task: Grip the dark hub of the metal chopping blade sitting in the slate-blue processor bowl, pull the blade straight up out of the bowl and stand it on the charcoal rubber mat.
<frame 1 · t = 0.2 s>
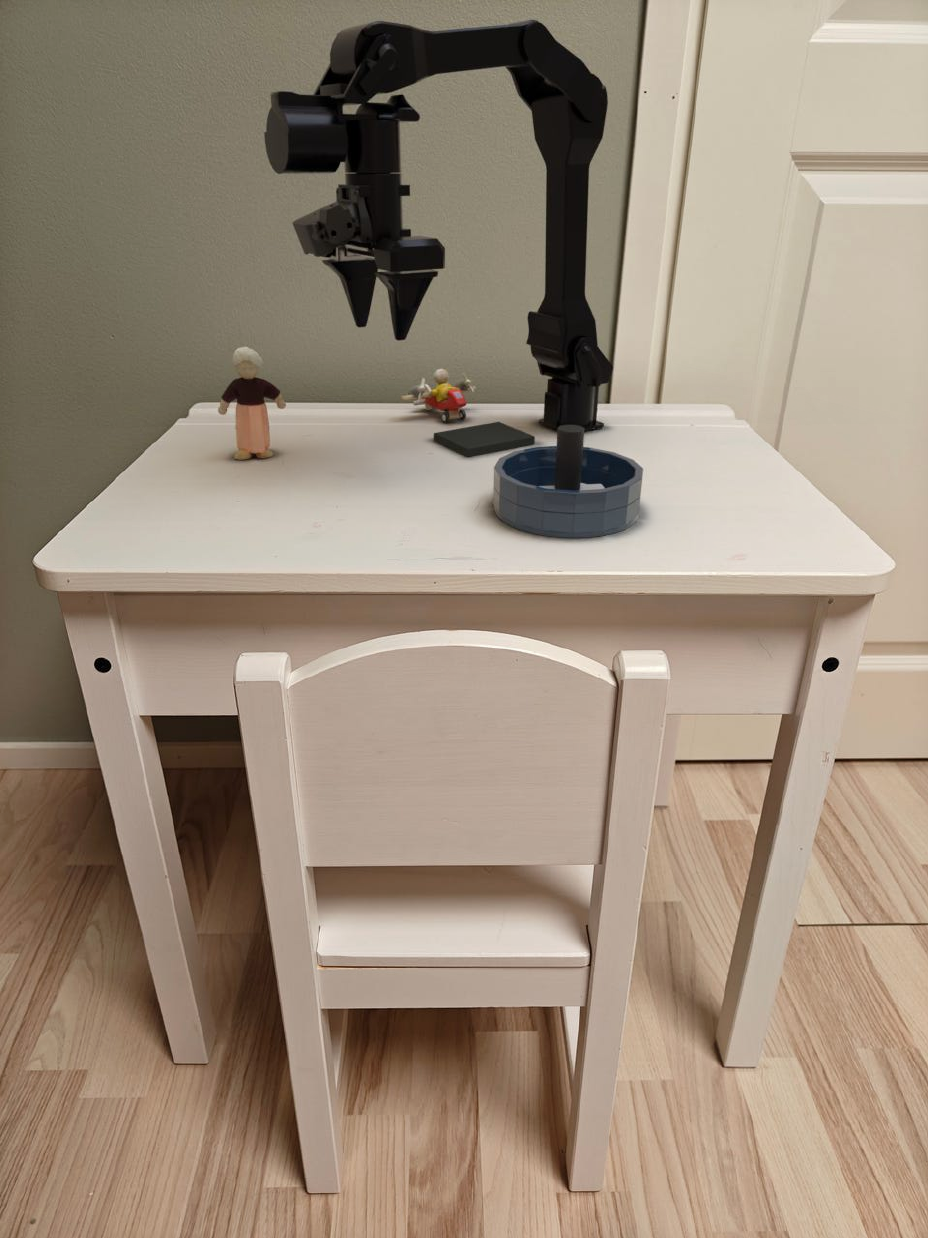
hand: (380, 333, 95), 15 cm above the table, tool pointing down, fingers open, 9 cm apart
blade: (566, 505, 88), resting on bowl
mat: (483, 442, 109), on the table
toy airplane: (439, 416, 120), on the table
grandmother figurine: (258, 456, 104), on the table
bowl: (565, 509, 88), on the table
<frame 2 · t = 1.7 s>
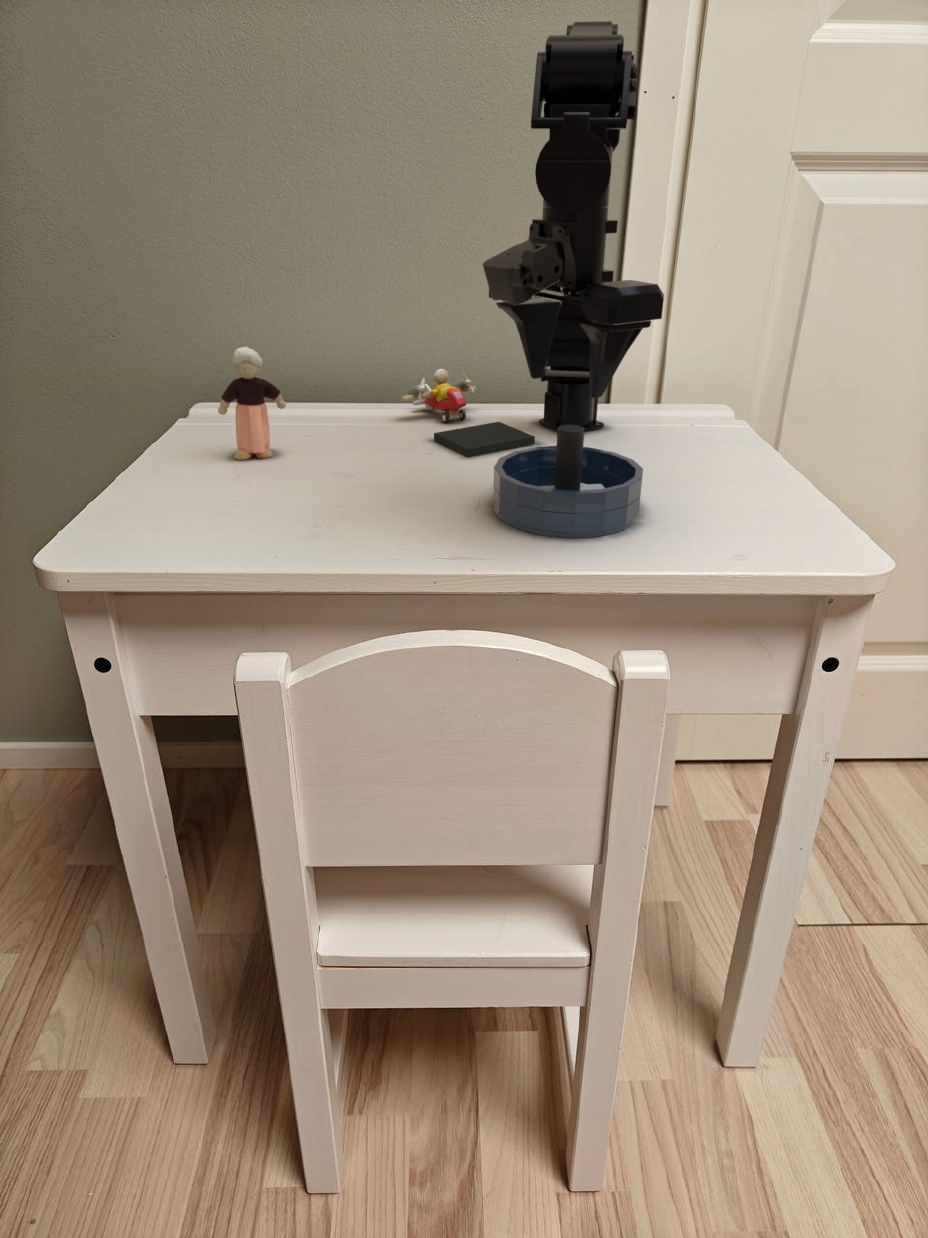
hand: (564, 387, 82), 12 cm above the table, tool pointing down, fingers open, 9 cm apart
nothing on the table moved.
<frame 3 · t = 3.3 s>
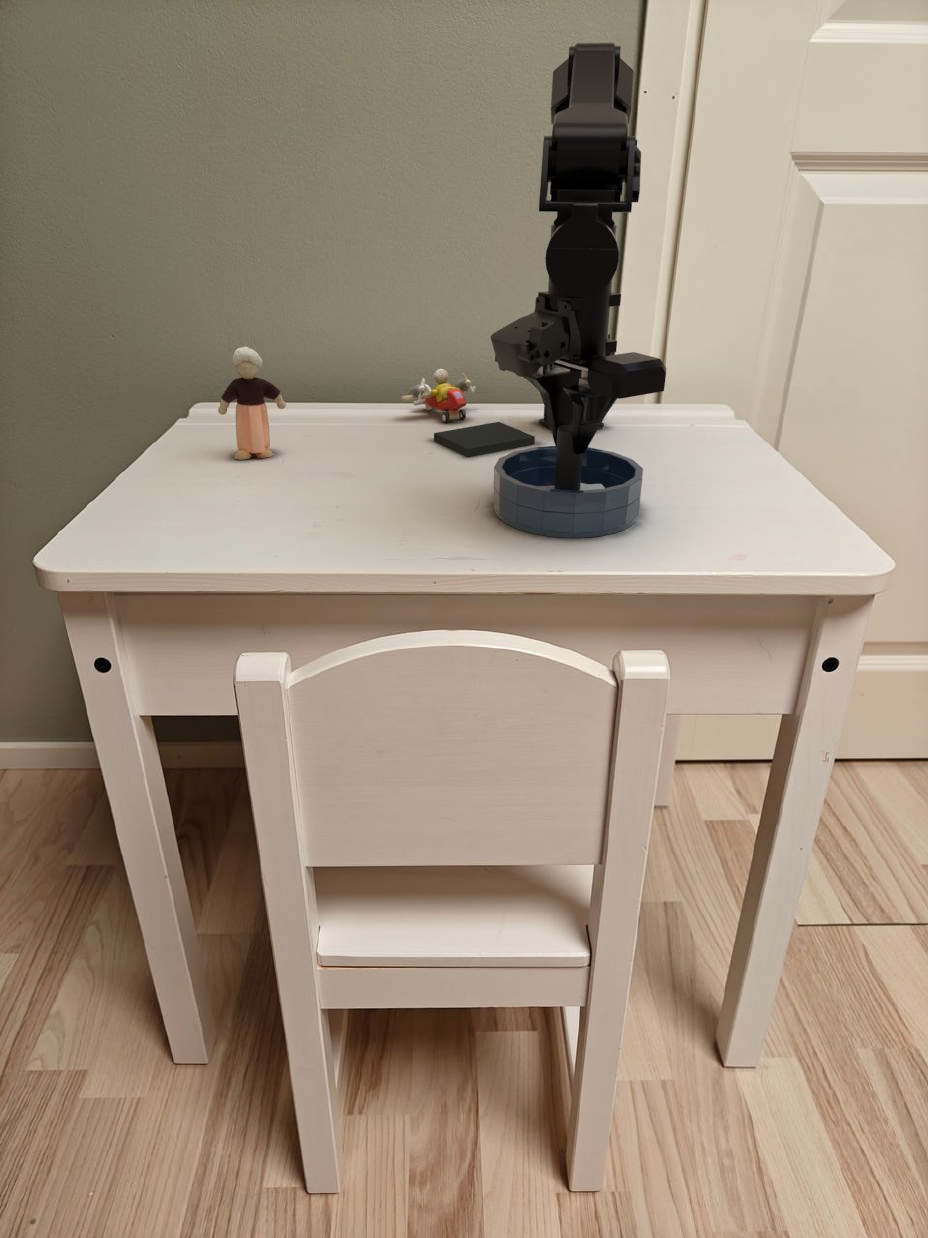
hand: (569, 449, 85), 6 cm above the table, tool pointing down, fingers closed on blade, 2 cm apart
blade: (566, 505, 88), point 1 cm above the table, touching bowl, gripper
everything else where it was.
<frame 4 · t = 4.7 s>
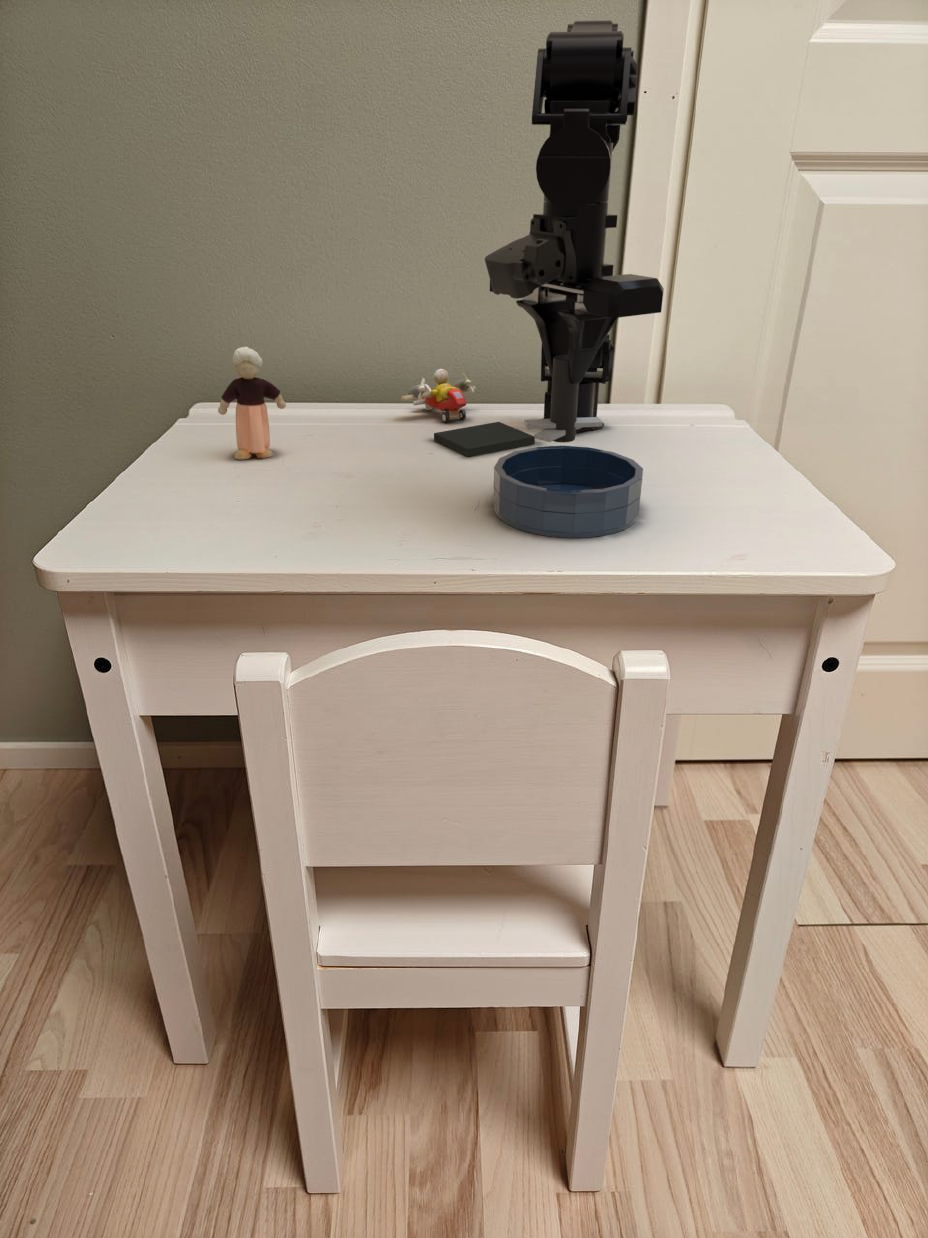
hand: (565, 380, 84), 13 cm above the table, tool pointing down, fingers closed on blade, 2 cm apart
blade: (562, 438, 86), point 7 cm above the table, touching gripper
everything else where it was.
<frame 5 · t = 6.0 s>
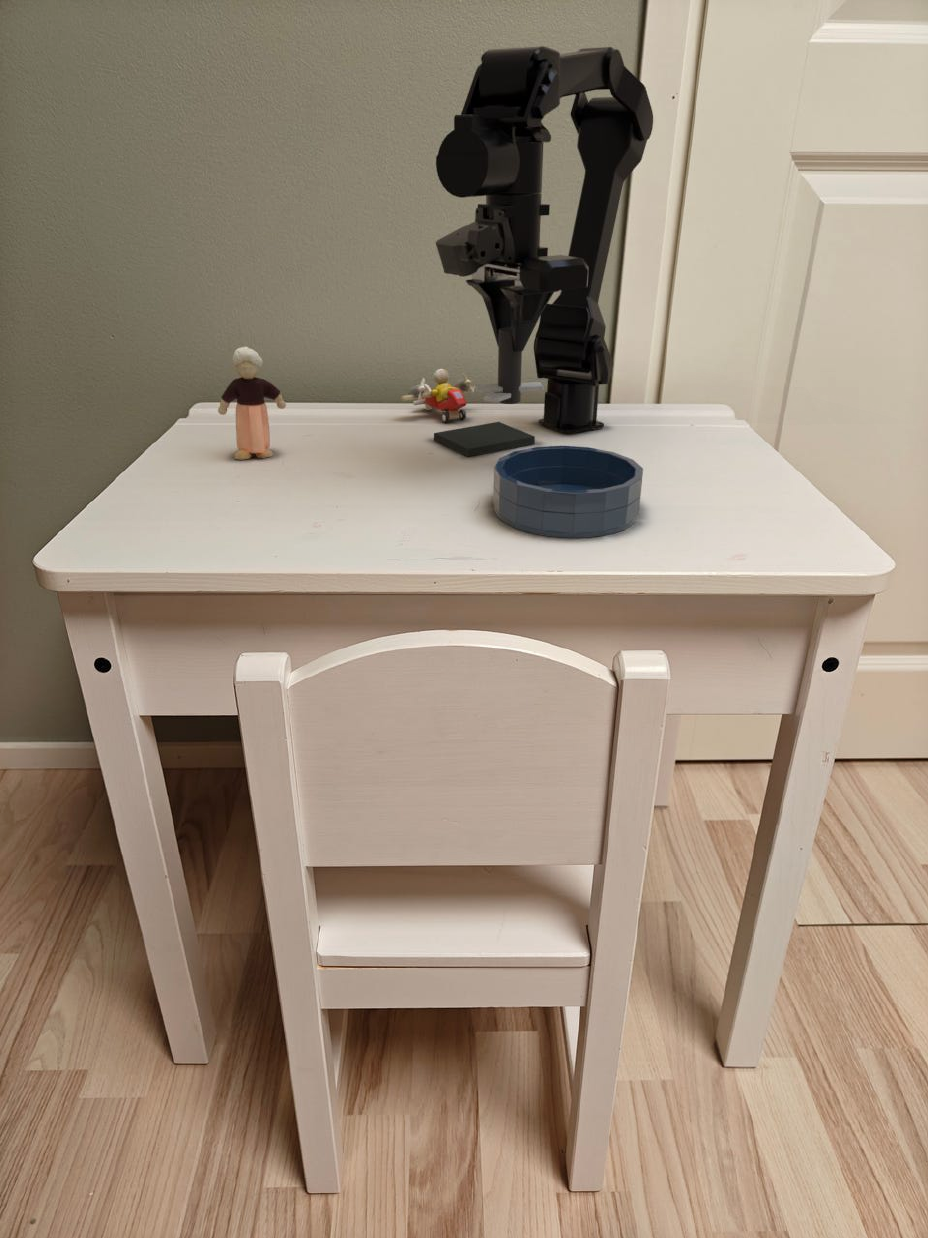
hand: (510, 349, 96), 13 cm above the table, tool pointing down, fingers closed on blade, 2 cm apart
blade: (508, 401, 99), point 7 cm above the table, touching gripper
everything else where it was.
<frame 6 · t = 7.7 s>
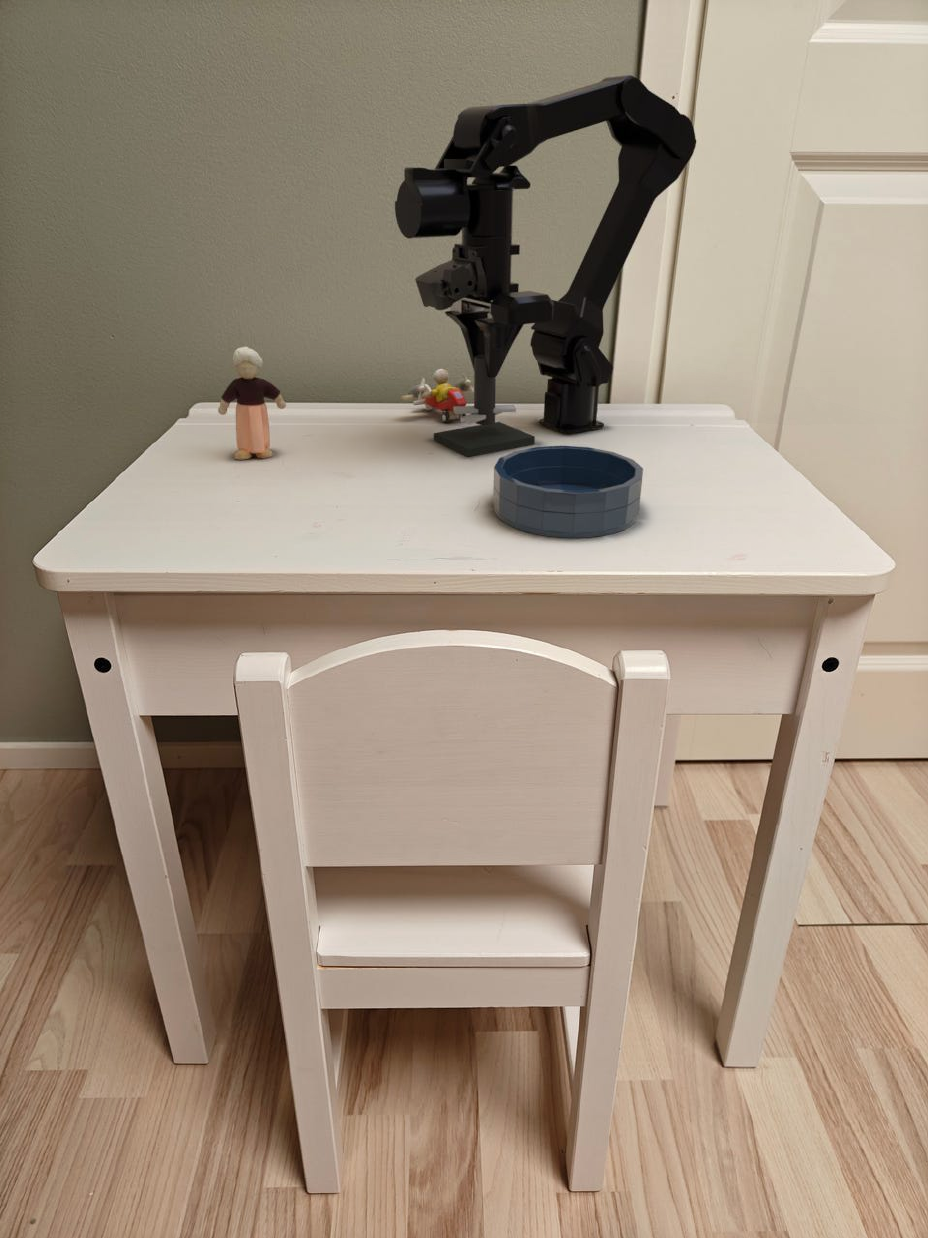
hand: (485, 374, 105), 8 cm above the table, tool pointing down, fingers closed on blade, 2 cm apart
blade: (484, 421, 107), point 3 cm above the table, touching gripper
everything else where it was.
when the fingers open (7 cm above the table, at t = 8.5 s): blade stays where it is, resting on mat.
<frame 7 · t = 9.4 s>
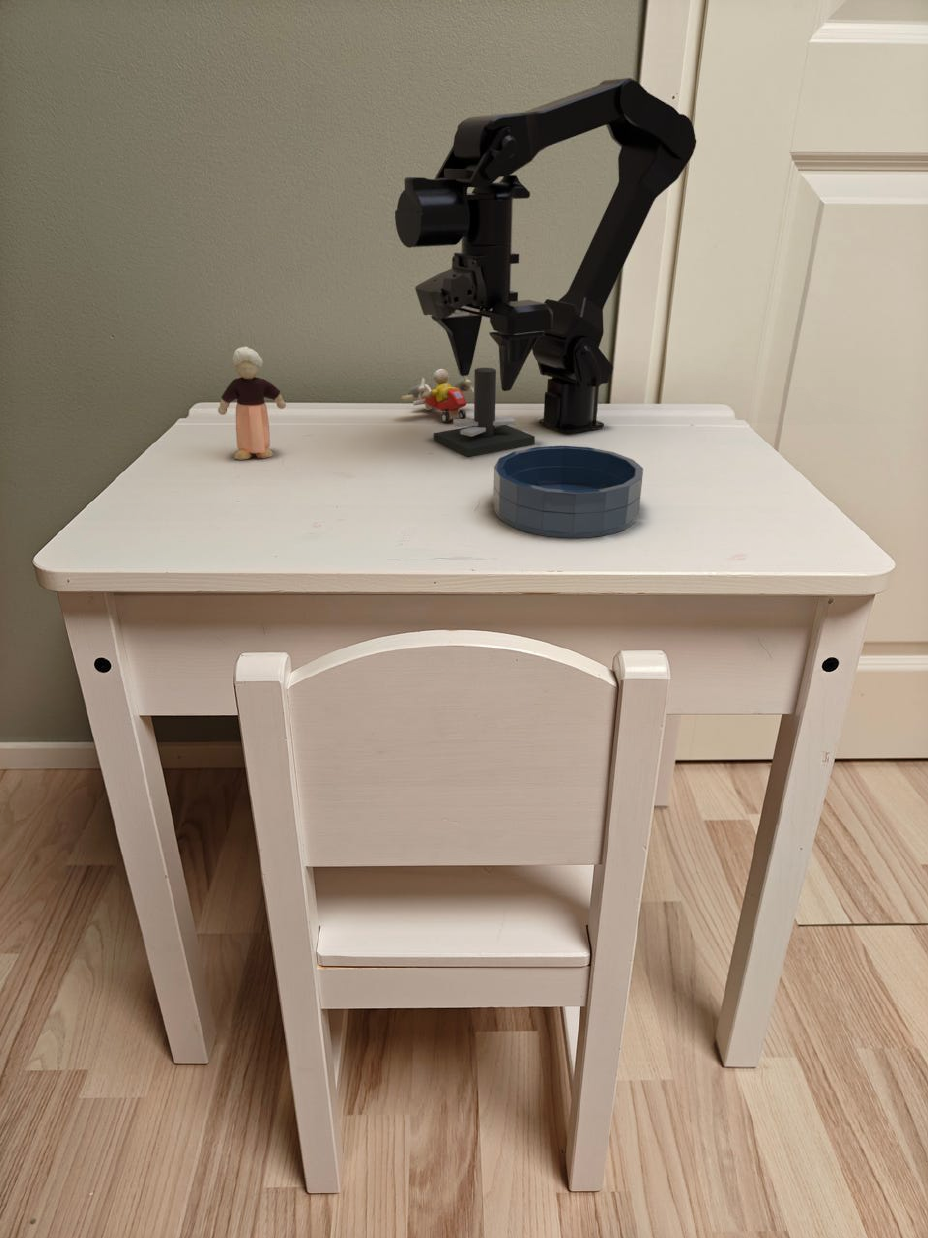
hand: (484, 382, 105), 7 cm above the table, tool pointing down, fingers open, 9 cm apart
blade: (484, 434, 108), point 1 cm above the table, touching mat
everything else where it was.
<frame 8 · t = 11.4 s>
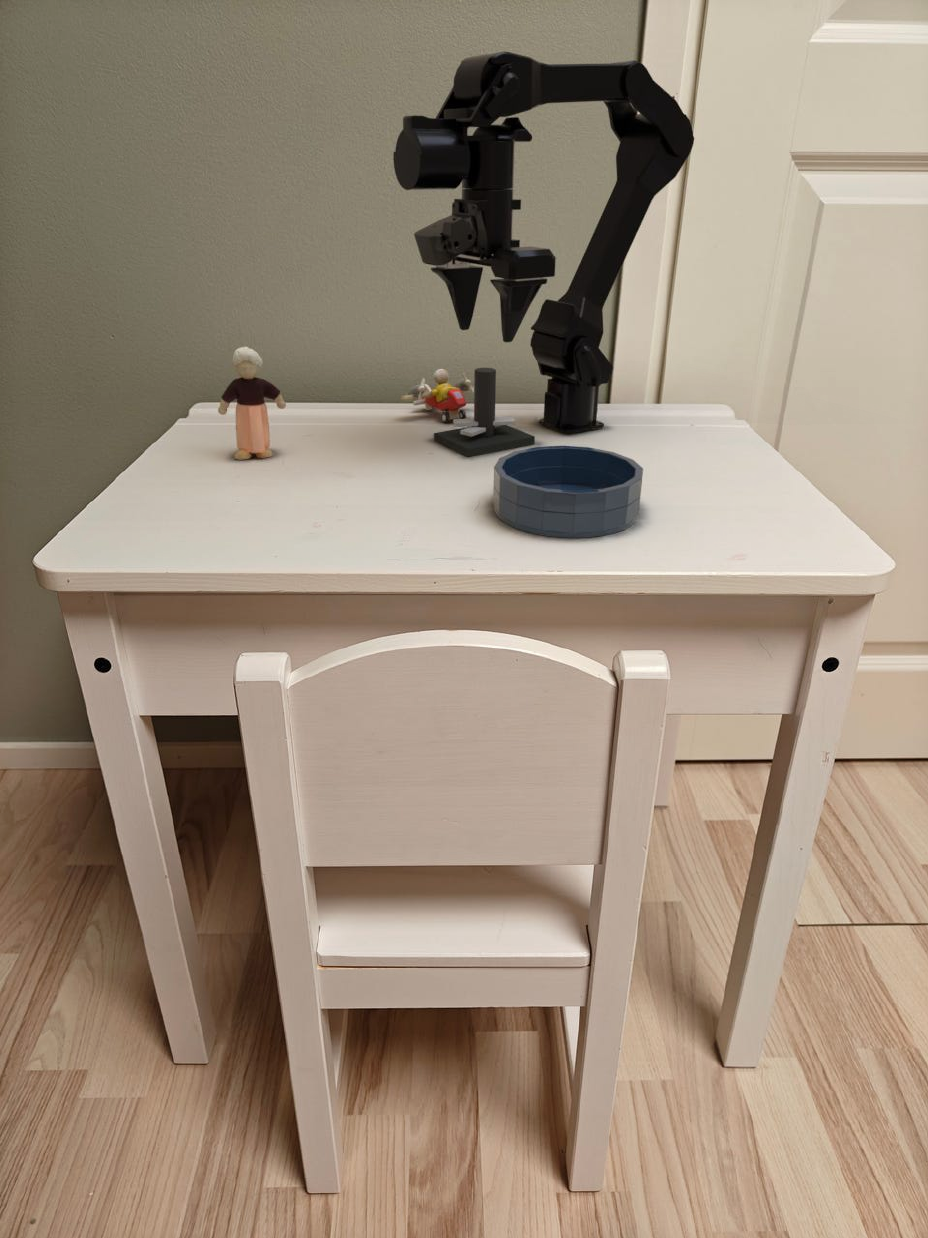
hand: (485, 335, 102), 13 cm above the table, tool pointing down, fingers open, 9 cm apart
nothing on the table moved.
at the end: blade inside the target area on the mat (0.0 cm from its centre), point 1.0 cm above the mat's base; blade tilted 0°; the gripper is holding nothing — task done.
